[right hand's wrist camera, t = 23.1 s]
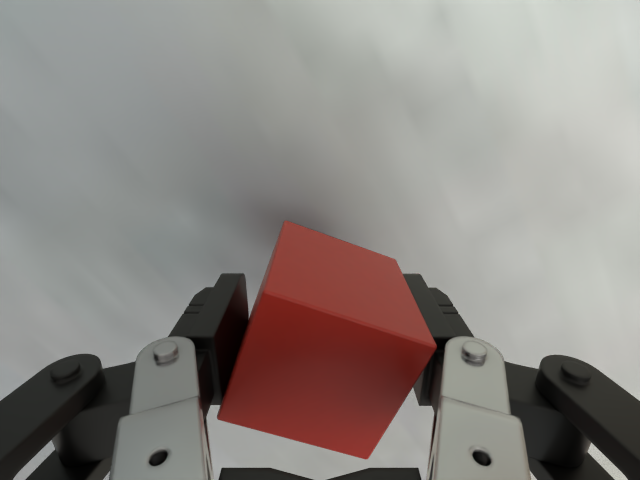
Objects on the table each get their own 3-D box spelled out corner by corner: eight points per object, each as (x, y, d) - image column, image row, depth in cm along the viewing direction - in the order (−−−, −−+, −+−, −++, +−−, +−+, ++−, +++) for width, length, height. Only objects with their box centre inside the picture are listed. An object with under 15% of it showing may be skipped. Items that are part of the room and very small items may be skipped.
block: (284, 219, 12) (263, 289, 7) (396, 259, 12) (439, 347, 8) (250, 312, 13) (215, 420, 9) (352, 345, 14) (368, 461, 9)
